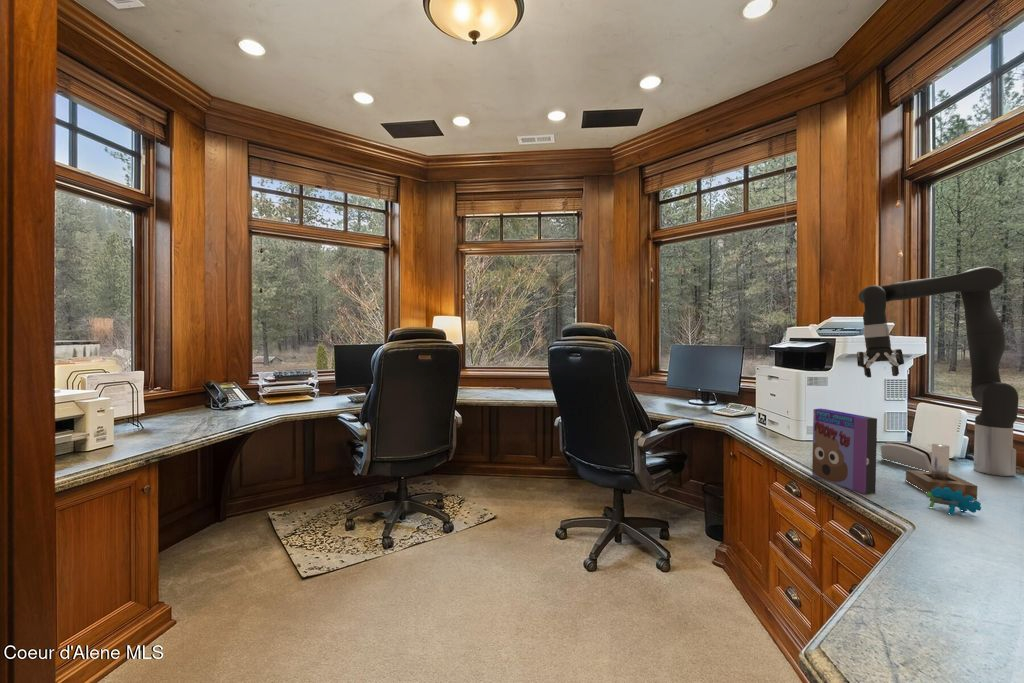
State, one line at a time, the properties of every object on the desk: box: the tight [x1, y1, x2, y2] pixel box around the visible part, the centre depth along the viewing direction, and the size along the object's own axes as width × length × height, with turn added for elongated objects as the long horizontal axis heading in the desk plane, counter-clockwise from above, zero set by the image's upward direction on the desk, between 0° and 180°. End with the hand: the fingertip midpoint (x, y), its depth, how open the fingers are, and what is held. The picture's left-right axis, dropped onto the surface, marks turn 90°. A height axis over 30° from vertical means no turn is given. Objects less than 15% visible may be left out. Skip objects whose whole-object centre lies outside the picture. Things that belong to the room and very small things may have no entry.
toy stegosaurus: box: [926, 487, 982, 515], centre depth 119 cm, size 11×6×10 cm
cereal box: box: [811, 408, 878, 495], centre depth 141 cm, size 17×5×24 cm, turn 14°
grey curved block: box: [880, 441, 932, 472], centre depth 161 cm, size 17×5×10 cm, turn 14°
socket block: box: [905, 469, 978, 500], centre depth 137 cm, size 12×12×4 cm
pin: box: [931, 443, 950, 481], centre depth 136 cm, size 4×4×14 cm
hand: (882, 376), depth 166 cm, fingers open, 8 cm apart
